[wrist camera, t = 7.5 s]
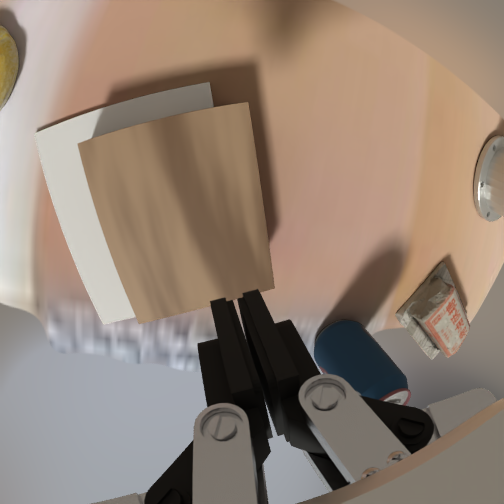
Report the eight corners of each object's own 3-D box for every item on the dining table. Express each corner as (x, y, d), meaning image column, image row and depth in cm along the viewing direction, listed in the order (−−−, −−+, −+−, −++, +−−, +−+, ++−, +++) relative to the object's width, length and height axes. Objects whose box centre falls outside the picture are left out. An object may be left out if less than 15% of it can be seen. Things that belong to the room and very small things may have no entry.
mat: (208, 82, 21) (209, 82, 20) (245, 285, 29) (246, 288, 29) (36, 133, 18) (34, 133, 18) (103, 321, 27) (103, 324, 26)
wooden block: (248, 101, 18) (77, 143, 16) (274, 288, 25) (139, 324, 23) (234, 103, 21) (91, 138, 20) (260, 265, 28) (140, 296, 26)
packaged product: (412, 334, 33) (463, 275, 32) (390, 313, 38) (439, 258, 36) (442, 372, 42) (481, 328, 41) (426, 355, 46) (463, 313, 45)
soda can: (299, 357, 35) (344, 435, 25) (328, 310, 33) (387, 387, 23) (341, 361, 38) (387, 428, 28) (369, 319, 36) (426, 384, 26)
